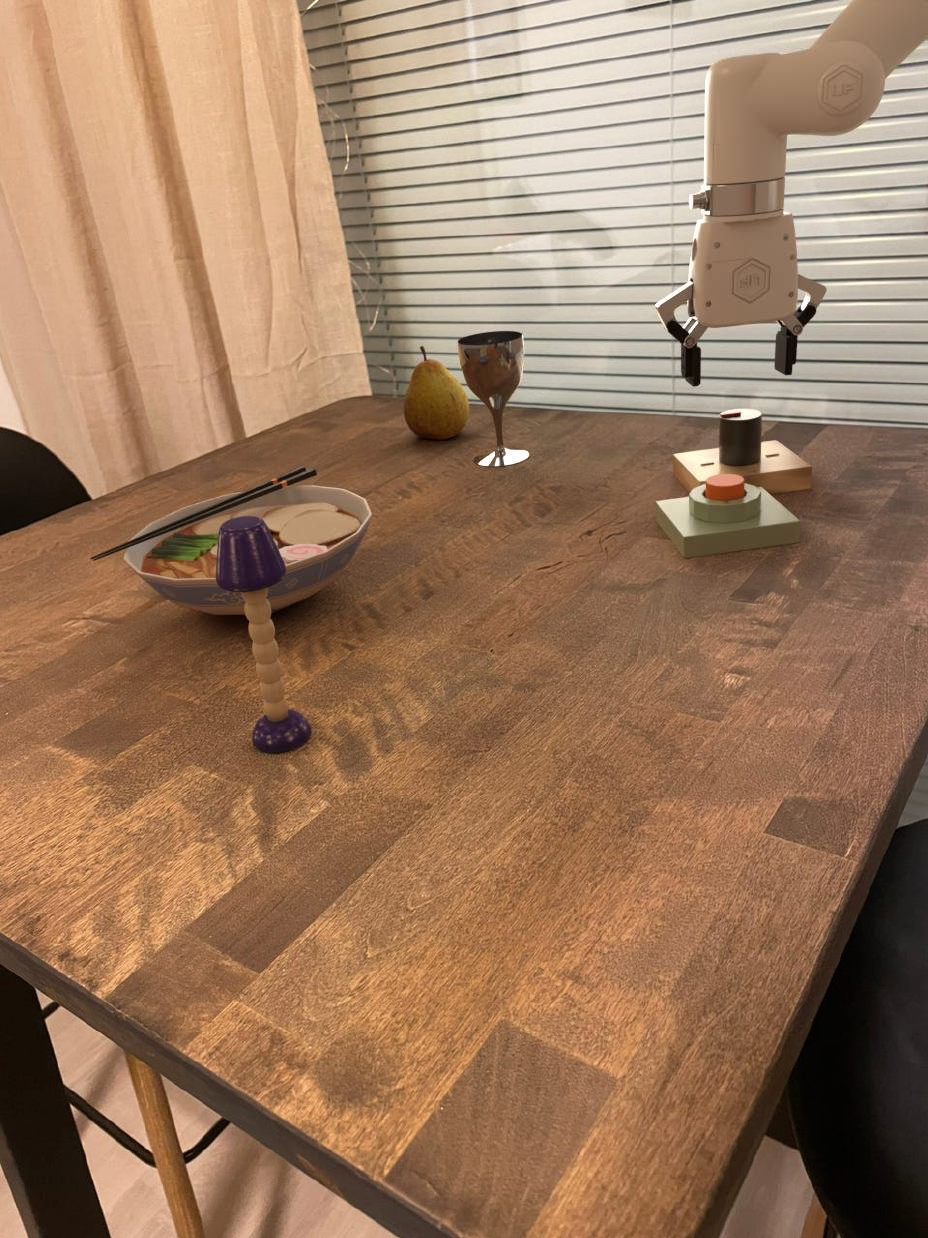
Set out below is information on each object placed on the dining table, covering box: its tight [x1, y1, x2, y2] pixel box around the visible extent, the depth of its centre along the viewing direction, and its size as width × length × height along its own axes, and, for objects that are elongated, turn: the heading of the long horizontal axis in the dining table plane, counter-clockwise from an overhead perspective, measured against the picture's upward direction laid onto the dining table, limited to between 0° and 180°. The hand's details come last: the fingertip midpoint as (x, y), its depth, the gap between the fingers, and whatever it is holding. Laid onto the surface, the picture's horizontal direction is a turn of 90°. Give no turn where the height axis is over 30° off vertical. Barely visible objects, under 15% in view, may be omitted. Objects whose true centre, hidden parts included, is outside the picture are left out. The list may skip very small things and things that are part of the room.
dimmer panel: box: [672, 439, 813, 495], centre depth 106 cm, size 12×10×3 cm
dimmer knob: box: [718, 408, 763, 466], centre depth 104 cm, size 4×4×5 cm
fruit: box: [403, 345, 470, 441], centre depth 133 cm, size 9×9×12 cm
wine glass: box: [457, 330, 530, 468], centre depth 120 cm, size 8×8×15 cm
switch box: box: [654, 483, 801, 559], centre depth 94 cm, size 11×10×4 cm
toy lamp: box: [216, 516, 312, 754], centre depth 67 cm, size 5×5×17 cm
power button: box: [706, 474, 745, 501], centre depth 93 cm, size 4×4×2 cm
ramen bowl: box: [89, 466, 373, 616], centre depth 91 cm, size 25×23×8 cm
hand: (737, 377), depth 102 cm, fingers open, 9 cm apart
